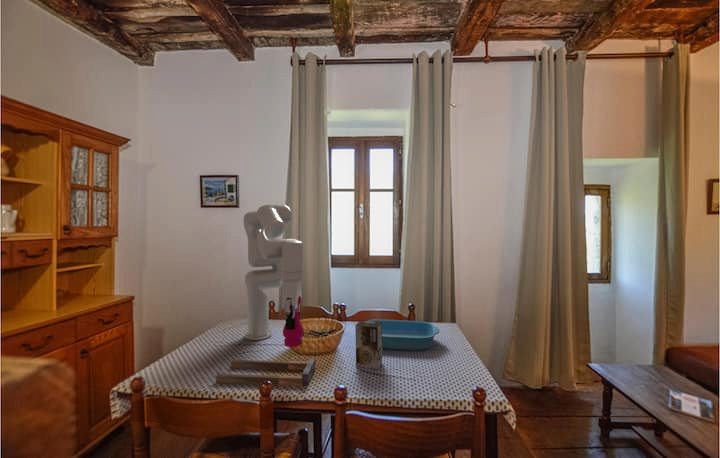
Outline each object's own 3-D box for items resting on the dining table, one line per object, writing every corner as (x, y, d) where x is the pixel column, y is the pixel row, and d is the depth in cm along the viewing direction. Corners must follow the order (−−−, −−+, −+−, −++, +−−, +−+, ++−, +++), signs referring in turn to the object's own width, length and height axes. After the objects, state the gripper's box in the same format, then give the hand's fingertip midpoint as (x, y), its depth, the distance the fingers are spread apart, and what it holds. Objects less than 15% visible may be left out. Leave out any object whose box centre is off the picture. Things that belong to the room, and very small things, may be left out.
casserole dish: (352, 349, 145) (352, 333, 145) (361, 331, 167) (361, 317, 167) (440, 355, 139) (440, 338, 139) (437, 336, 161) (438, 321, 161)
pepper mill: (299, 348, 116) (298, 291, 115) (279, 347, 118) (278, 290, 117) (306, 340, 123) (306, 286, 122) (287, 339, 125) (287, 285, 124)
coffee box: (382, 362, 132) (382, 321, 131) (378, 369, 126) (378, 327, 125) (360, 359, 135) (360, 319, 134) (355, 366, 128) (355, 324, 128)
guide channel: (232, 366, 129) (232, 355, 129) (315, 368, 127) (315, 357, 127) (216, 383, 116) (215, 371, 116) (308, 385, 114) (307, 374, 114)
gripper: (288, 271, 128) (289, 318, 129) (274, 280, 111) (275, 334, 112) (308, 271, 128) (308, 318, 129) (297, 280, 110) (297, 334, 111)
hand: (293, 325), depth 120 cm, fingers closed on pepper mill, 5 cm apart
